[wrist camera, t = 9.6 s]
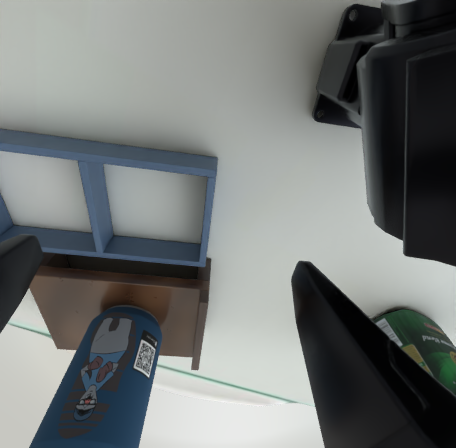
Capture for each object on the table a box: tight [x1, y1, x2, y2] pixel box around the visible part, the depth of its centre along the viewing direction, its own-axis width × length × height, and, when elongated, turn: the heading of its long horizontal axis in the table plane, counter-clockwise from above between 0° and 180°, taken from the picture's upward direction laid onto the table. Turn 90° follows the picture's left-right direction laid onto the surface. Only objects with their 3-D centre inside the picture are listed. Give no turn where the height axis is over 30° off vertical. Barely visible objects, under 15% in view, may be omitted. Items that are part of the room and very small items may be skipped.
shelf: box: [29, 252, 211, 370], centre depth 27 cm, size 16×12×6 cm
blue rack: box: [0, 129, 218, 267], centre depth 21 cm, size 19×10×3 cm, turn 82°
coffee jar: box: [373, 309, 456, 395], centre depth 26 cm, size 10×8×19 cm
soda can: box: [29, 305, 162, 448], centre depth 21 cm, size 7×7×12 cm
